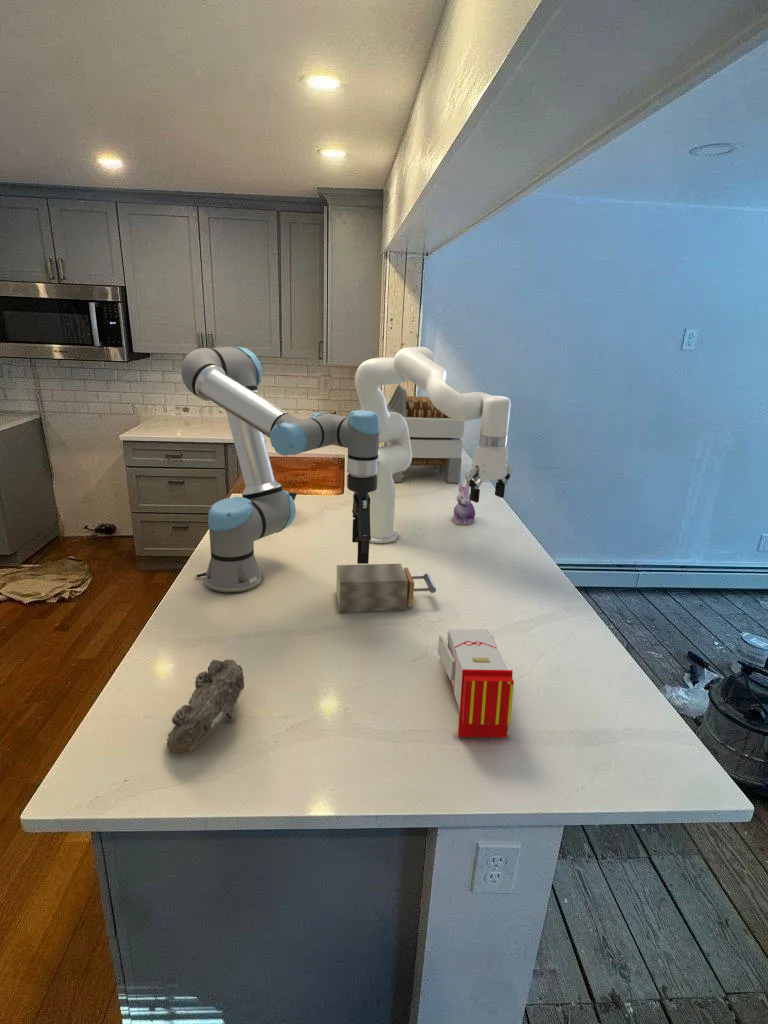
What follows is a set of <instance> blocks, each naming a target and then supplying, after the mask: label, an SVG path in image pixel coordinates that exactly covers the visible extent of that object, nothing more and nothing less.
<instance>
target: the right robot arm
mask: <svg viewBox="0 0 768 1024" xmlns="http://www.w3.org/2000/svg"><path fill="white" fill-rule="evenodd" d="M447 375H448V373H447V370H446V369H445V368H444V367H443V366H441V365H440V364H438V363H437V359H436V355H435V354H434V352H433V351H432V350H431V349H429V347H425V346H408V347H402V348H401V349H399V350H398V351H397V352H396V353H395V354H394V356H390V357H373V358H369V359H367V360H365V361H363V362H362V363H360V365H358V367H357V369H356V372H355V374H354V386H355V391H356V393H357V397H358V401H359V405H360V410H365V411H373V412H376V413H377V414H378V415H379V428H380V433H379V444H384V442H387V445H388V446H384V445H383V446H380V447H379V446H378V461H380V465H377V466H378V471H377V474H376V475H377V489H376V490H375V491H373V492H369V493H368V494H369V498H370V537H371V540H370V541H369V543H373V544H389V543H393V542H395V541H397V540H398V537H399V534H398V532H397V531H396V530H395V528H394V527H395V510H396V509H395V508H396V507H395V506H396V491H397V490H396V484H395V483H396V482H394V481H393V478H392V474H394V473H397V472H400V471H403V472H404V471H406V470H407V469H408V468H410V467H411V466H410V464H411V462H412V451H411V444H410V438H409V431H408V426H407V423H406V420H405V419H404V417H403V416H402V415H401V414H399V413H397V412H388V410H387V405H388V404H387V400H386V397H385V395H384V392H383V391H382V390H381V389H380V387H381V386H388V385H389V386H390V385H397V384H398V385H399V384H403V383H405V382H411V383H412V384H414V385H416V386H417V387H418V388H420V389H421V390H422V391H424V392H425V393H426V394H427V397H429V399H430V400H431V402H432V404H433V405H434V406H435V407H436V408H437V409H438V410H440V411H441V412H442V413H444V414H445V415H447V416H448V417H450V418H451V419H453V420H456V421H461V422H462V421H464V422H467V421H472V420H478V419H481V420H480V431H479V440H478V444H477V445H476V447H475V450H474V453H473V457H472V462H471V469H470V470H469V471H468V472H466V473H465V474H464V477H465V480H466V484H467V483H468V484H469V487H470V490H469V493H470V500H471V502H474V503H476V504H477V503H479V502H480V495H481V493H480V492H481V489H480V487H481V485H482V484H483V483H487V482H493V481H496V482H495V489H494V495H495V496H496V497H498V498H501V499H503V498H504V497H505V488H506V485H508V480H510V478H511V475H512V473H513V471H514V468H513V467H512V466H510V465H508V456H509V455H508V446H507V441H508V440H509V436H508V434H509V433H508V432H509V425H510V424H509V423H510V415H511V406H512V402H511V399H510V398H509V397H507V396H504V395H492V394H488V393H485V392H481V391H473V392H466V393H460V392H459V391H457V390H456V389H454V388H453V387H452V386H450V385H449V384H447V383H446V381H447ZM363 536H367V535H363Z"/></svg>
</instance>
